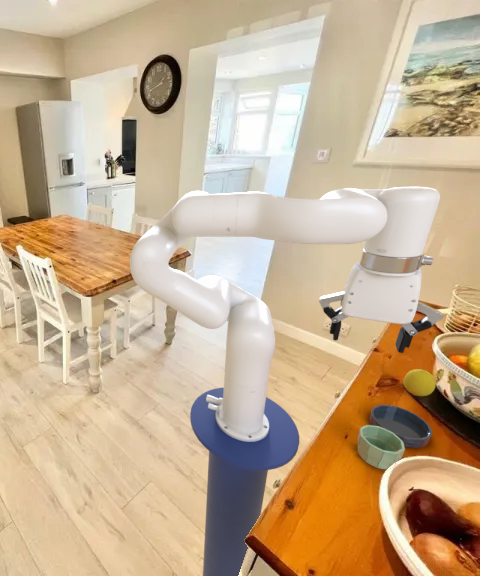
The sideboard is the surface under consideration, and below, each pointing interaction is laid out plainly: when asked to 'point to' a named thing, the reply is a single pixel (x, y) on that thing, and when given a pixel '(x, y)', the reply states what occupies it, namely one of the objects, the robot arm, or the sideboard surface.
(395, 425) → the bottom bowl
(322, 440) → the sideboard surface
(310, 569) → the sideboard surface
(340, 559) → the sideboard surface
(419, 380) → the lemon
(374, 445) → the top bowl
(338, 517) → the sideboard surface
